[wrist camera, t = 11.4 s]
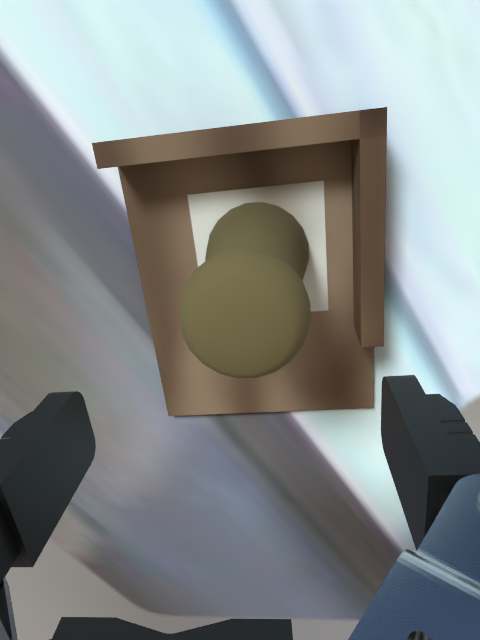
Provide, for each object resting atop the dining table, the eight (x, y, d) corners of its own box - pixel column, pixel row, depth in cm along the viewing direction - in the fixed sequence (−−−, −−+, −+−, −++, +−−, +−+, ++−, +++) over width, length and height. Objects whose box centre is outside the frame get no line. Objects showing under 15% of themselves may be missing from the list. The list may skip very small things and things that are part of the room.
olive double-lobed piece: (204, 297, 28) (158, 394, 17) (208, 197, 25) (158, 241, 15) (302, 307, 27) (313, 412, 17) (316, 206, 25) (338, 259, 15)
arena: (170, 411, 32) (157, 442, 29) (116, 141, 25) (91, 143, 22) (371, 402, 30) (382, 435, 27) (372, 110, 23) (386, 107, 20)
